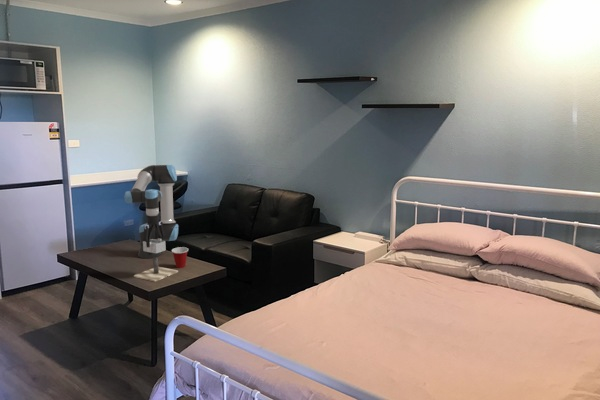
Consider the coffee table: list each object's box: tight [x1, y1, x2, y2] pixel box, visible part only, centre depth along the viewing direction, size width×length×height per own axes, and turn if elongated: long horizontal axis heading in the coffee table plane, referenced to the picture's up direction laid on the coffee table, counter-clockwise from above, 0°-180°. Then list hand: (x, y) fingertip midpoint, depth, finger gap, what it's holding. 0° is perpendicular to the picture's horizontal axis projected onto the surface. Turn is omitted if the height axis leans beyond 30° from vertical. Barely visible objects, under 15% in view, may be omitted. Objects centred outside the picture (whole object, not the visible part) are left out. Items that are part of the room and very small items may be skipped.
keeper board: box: [133, 256, 179, 282], centre depth 298 cm, size 20×18×12 cm
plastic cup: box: [171, 246, 189, 269], centre depth 313 cm, size 11×11×12 cm
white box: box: [143, 239, 167, 253], centre depth 295 cm, size 8×11×6 cm
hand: (154, 250), depth 296 cm, fingers closed on white box, 8 cm apart
